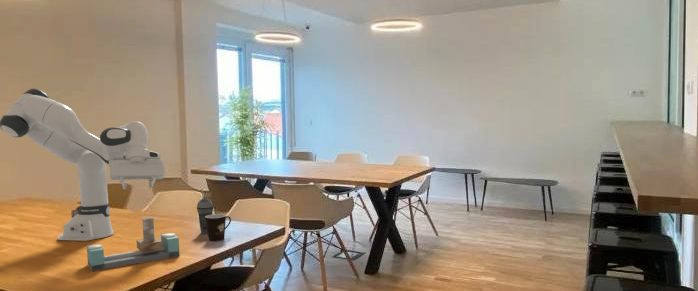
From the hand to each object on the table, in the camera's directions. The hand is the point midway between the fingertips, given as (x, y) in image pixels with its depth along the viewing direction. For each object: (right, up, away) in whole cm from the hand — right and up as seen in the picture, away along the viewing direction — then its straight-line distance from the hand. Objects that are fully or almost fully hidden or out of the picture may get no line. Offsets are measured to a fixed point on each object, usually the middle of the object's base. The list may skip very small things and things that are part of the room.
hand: (137, 188), depth 199 cm
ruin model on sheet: (-52, -23, +61) cm, 83 cm away
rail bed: (+3, -26, -9) cm, 28 cm away
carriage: (+7, -22, -7) cm, 24 cm away
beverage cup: (+18, -23, +32) cm, 43 cm away
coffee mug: (+27, -24, +20) cm, 41 cm away
